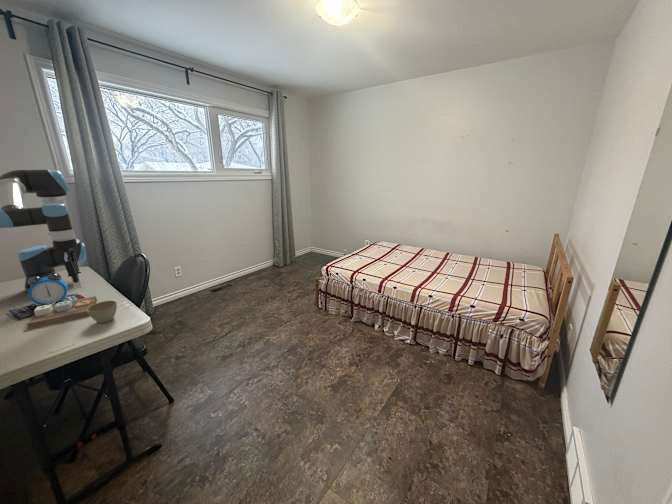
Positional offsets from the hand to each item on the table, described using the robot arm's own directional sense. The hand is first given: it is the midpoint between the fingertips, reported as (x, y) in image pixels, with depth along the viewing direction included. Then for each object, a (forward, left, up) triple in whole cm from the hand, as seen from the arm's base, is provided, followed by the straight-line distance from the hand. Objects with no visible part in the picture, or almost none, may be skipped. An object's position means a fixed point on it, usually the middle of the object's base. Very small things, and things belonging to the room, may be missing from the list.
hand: (78, 287), depth 126 cm
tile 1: (0, -13, -9) cm, 16 cm away
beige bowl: (+19, +10, -11) cm, 24 cm away
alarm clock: (-18, -14, -11) cm, 25 cm away
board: (0, -6, -11) cm, 13 cm away
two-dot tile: (0, -6, -9) cm, 11 cm away
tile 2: (0, 0, -11) cm, 11 cm away
